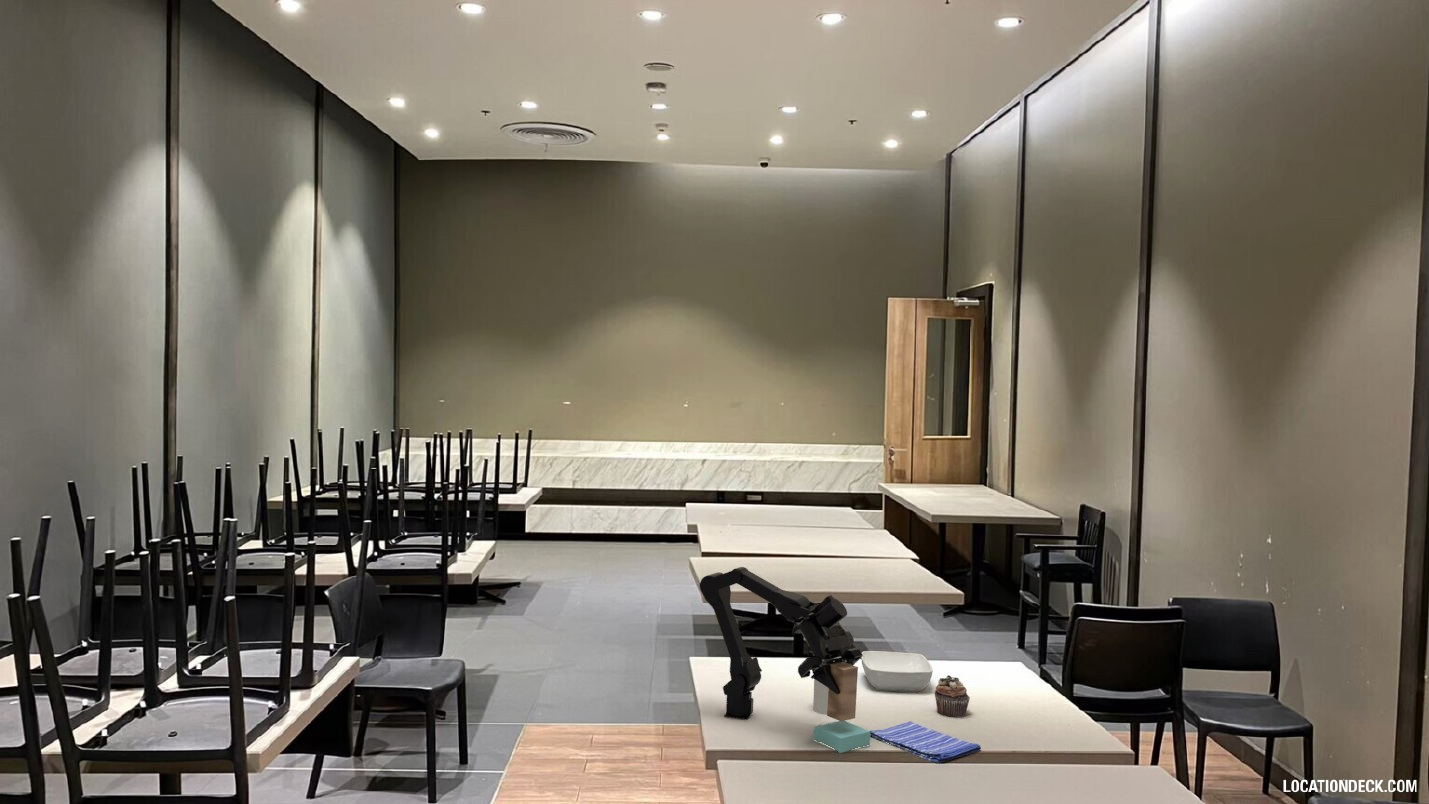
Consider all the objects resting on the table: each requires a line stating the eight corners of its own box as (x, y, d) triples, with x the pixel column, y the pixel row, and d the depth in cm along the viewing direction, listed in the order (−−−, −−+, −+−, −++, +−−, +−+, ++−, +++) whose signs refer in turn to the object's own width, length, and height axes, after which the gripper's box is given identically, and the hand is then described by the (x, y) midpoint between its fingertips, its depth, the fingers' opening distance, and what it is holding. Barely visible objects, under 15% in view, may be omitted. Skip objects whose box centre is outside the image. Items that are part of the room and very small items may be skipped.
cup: (841, 715, 289) (842, 672, 288) (811, 712, 290) (813, 669, 290) (843, 706, 297) (845, 664, 296) (814, 704, 298) (816, 661, 298)
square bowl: (935, 696, 310) (936, 670, 309) (865, 694, 310) (866, 668, 310) (922, 676, 330) (923, 652, 330) (857, 674, 330) (858, 649, 330)
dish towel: (939, 766, 255) (940, 755, 255) (866, 738, 273) (867, 727, 273) (983, 752, 266) (983, 741, 265) (910, 726, 284) (910, 715, 284)
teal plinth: (813, 742, 268) (814, 726, 268) (842, 735, 274) (843, 719, 274) (840, 754, 260) (840, 738, 260) (869, 747, 266) (870, 731, 266)
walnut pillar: (827, 715, 267) (829, 664, 267) (841, 712, 270) (843, 662, 270) (841, 721, 263) (843, 669, 263) (855, 718, 266) (857, 667, 266)
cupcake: (962, 720, 288) (964, 684, 288) (928, 713, 293) (930, 677, 293) (973, 711, 296) (975, 676, 296) (940, 705, 301) (942, 670, 301)
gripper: (807, 626, 263) (837, 680, 255) (858, 617, 275) (889, 669, 267) (784, 650, 269) (813, 704, 261) (836, 640, 281) (865, 692, 273)
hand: (846, 691), depth 265 cm, fingers closed on walnut pillar, 5 cm apart
